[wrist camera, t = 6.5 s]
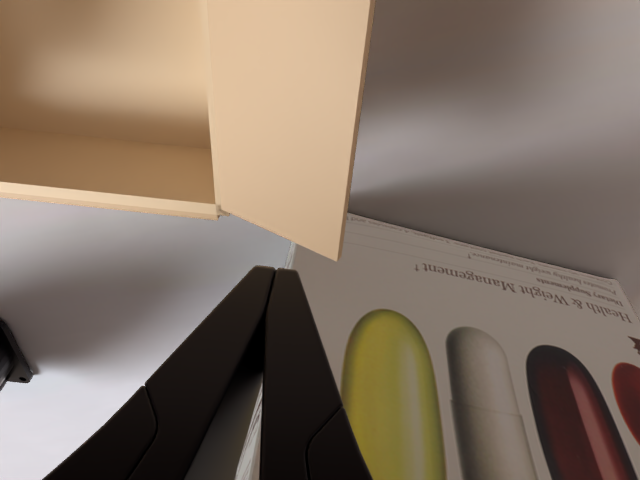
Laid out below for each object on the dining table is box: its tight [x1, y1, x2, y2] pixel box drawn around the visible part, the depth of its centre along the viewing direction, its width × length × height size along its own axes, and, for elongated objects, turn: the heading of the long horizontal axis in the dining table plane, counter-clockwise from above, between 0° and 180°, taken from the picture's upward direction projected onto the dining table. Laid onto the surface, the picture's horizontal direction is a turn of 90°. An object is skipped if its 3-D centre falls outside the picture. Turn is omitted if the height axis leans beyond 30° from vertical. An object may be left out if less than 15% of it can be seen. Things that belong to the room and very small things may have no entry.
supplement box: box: [235, 213, 640, 480], centre depth 22 cm, size 17×13×18 cm
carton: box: [0, 0, 230, 220], centre depth 18 cm, size 11×13×4 cm
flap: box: [207, 0, 376, 262], centre depth 15 cm, size 9×5×1 cm, turn 176°
